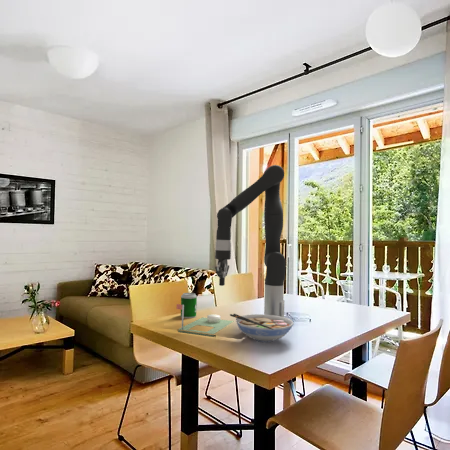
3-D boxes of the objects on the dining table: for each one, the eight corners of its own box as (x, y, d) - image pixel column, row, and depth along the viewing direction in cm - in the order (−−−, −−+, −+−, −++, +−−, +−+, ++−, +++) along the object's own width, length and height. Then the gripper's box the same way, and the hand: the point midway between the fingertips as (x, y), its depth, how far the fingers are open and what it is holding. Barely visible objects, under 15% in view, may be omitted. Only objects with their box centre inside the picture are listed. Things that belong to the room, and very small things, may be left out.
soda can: (193, 321, 164) (194, 295, 165) (178, 319, 166) (179, 294, 166) (198, 317, 172) (198, 293, 172) (183, 316, 173) (184, 292, 174)
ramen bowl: (308, 343, 133) (308, 322, 134) (261, 353, 121) (261, 329, 121) (266, 328, 154) (266, 309, 155) (222, 335, 142) (222, 315, 142)
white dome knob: (222, 320, 161) (222, 315, 161) (217, 323, 156) (217, 318, 156) (210, 319, 163) (210, 314, 164) (205, 322, 158) (205, 316, 158)
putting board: (233, 323, 161) (234, 299, 162) (213, 337, 139) (214, 308, 139) (199, 319, 168) (200, 296, 168) (174, 331, 145) (175, 304, 146)
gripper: (225, 250, 162) (224, 287, 161) (235, 249, 174) (233, 284, 173) (210, 249, 164) (209, 286, 164) (221, 248, 177) (219, 283, 176)
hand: (221, 285), depth 168 cm, fingers closed
